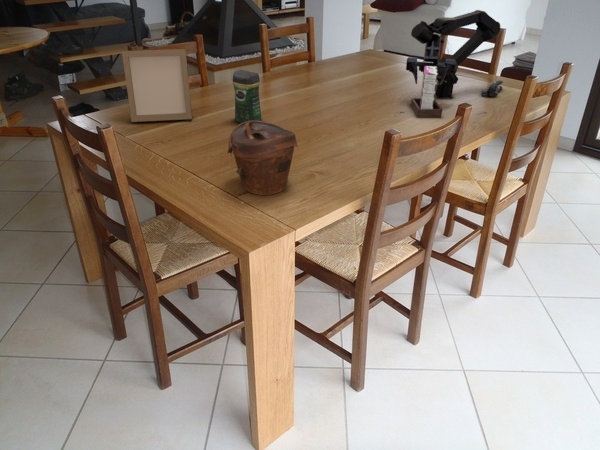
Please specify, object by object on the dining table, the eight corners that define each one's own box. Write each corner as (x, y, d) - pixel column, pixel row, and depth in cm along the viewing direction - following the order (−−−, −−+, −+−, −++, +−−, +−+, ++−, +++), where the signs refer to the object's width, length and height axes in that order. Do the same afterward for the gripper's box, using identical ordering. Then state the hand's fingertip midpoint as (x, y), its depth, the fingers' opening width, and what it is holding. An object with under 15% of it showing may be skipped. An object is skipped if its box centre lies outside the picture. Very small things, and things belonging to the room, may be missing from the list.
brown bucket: (243, 167, 153) (239, 111, 144) (305, 176, 149) (306, 118, 139) (218, 194, 139) (213, 132, 129) (287, 204, 134) (286, 141, 125)
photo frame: (192, 121, 187) (184, 52, 174) (132, 124, 184) (119, 54, 171) (192, 108, 200) (185, 43, 187) (136, 111, 197) (125, 45, 184)
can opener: (494, 99, 211) (497, 86, 208) (478, 96, 215) (481, 83, 212) (508, 89, 223) (511, 77, 220) (492, 87, 227) (495, 74, 224)
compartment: (432, 105, 204) (433, 98, 202) (441, 117, 192) (442, 109, 190) (410, 105, 204) (411, 98, 202) (417, 117, 192) (418, 109, 190)
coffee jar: (265, 120, 188) (263, 71, 178) (251, 127, 183) (249, 75, 173) (245, 115, 193) (242, 66, 183) (231, 121, 187) (228, 71, 178)
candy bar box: (418, 106, 203) (424, 65, 195) (431, 107, 202) (437, 66, 194) (418, 115, 194) (424, 73, 185) (431, 116, 193) (438, 73, 184)
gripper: (453, 61, 205) (450, 96, 202) (407, 58, 208) (403, 92, 205) (457, 45, 194) (454, 82, 191) (408, 43, 198) (404, 78, 194)
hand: (428, 84), depth 196 cm, fingers open, 9 cm apart
